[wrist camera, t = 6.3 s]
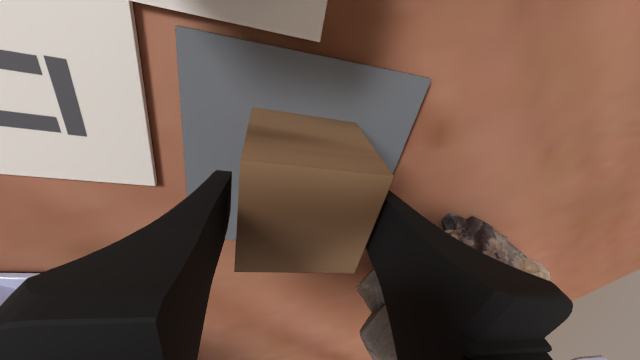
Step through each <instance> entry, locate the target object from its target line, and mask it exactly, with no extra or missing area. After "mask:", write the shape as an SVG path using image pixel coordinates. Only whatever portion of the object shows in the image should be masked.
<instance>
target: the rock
mask: <svg viewBox="0 0 640 360" xmlns="http://www.w3.org/2000/svg"><path fill="white" fill-rule="evenodd" d="M443 224H444V226H445V229H446V231H445V232H446V233H448V234H450V235H451V236H453V237H455V238H456V239H458V240H459V241H461V242H463V243H465V244H467V245H468V246H470V247H472V248H474V249H476V250H478V251H480V252H482V253H484V254H486V255H488V256H490V257H492V258H494V259H496V260H499V261H501V262H503V263H505V264H508V265H510V266H512V267H515V268H517V269H519V270H522V271H525V272H527V273H530V274H533V275H535V276H538V277H540V278H543V279H546V280H548V281H550V273H549V272H548V271H547V270H546V269H545V268H544V267H543V266H542V265H541V264H540V263H538V262H537V261H534V260H531V259H528V258H527V257H526V256H525V255H524V254H523V253H522V252H521V251H519V250H518V249H517V248H516V247H514V246H513V245H512V244H511V243H509V242H508V241H507V237H505V236H503V235H501V234H500V233H499V232H497V231H496V230H495V229H494V228H493V227H492V226H490V225H489V224H487V223H485V222H484V221H481V220H479V219H477V218H475V217H473V216H472V217H470V218H469V219H468V220H467V221H466V220H465V219H464V218H462V217H459V216H457V215H455V214H448V215H447V216H446V217H445V218H444V219H443ZM357 291H358V292H359V294H360V295H361V296H362V297H363V298H364V300H365V302H366V304H367V306H368V308H369V309H370V311H371V312H372V314H371V315H370V316H369V317H368V319H367V320H366V322H365V323H364V325H363V326H362V328H361V330H360V336H361V339H362V341H363V343H364V345H365V347H366V349H367V351H368V352H369V354H370V356H371V357H372V359H373V360H397V355H396V350H395V345H394V340H393V335H392V330H391V326H390V322H389V317H388V313H387V309H386V305H385V301H384V297H383V294H382V290H381V287H380V284H379V281H378V278H377V275H376V272H375V270H374V269H373V270H372V271H371V272H370V273H369V274H368V275H367V276H365V277H364V279H363V280H362V281H361V282H360V284H359V285H358V286H357Z"/></svg>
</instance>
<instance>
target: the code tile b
mask: <svg viewBox="0 0 640 360" xmlns="http://www.w3.org/2000/svg"><path fill="white" fill-rule="evenodd" d="M129 1H134V2H138V3H143V4H147V5H152V6H156V7H161V8H166V9H170V10H175V11H179V12H184V13H188V14H193V15H197V16H202V17H206V18H211V19H216V20H220V21H225V22H229V23H234V24H238V25H243V26H247V27H252V28H257V29H261V30H266V31H270V32H275V33H279V34H284V35H288V36H293V37H298V38H302V39H307V40H311V41H316V42H320V39H321V33H322V28H323V22H324V17H325V12H326V6H327V1H328V0H129Z"/></svg>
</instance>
